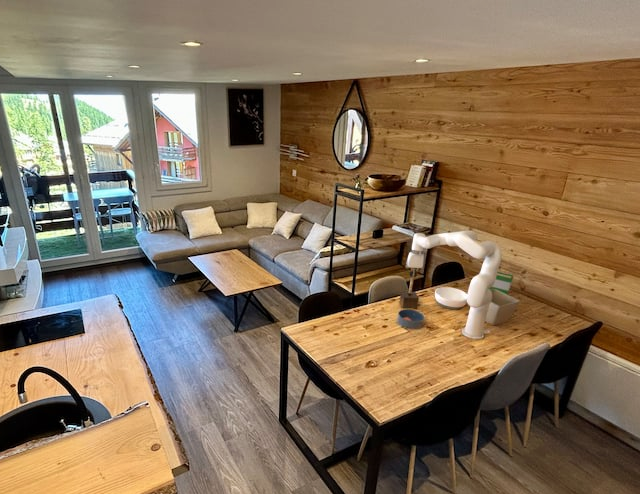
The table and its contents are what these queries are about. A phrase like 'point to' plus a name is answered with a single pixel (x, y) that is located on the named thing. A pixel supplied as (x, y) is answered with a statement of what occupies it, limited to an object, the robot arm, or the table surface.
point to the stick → (411, 281)
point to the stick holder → (409, 300)
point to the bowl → (450, 298)
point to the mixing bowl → (415, 317)
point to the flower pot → (500, 307)
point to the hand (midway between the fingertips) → (412, 276)
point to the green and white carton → (502, 282)
